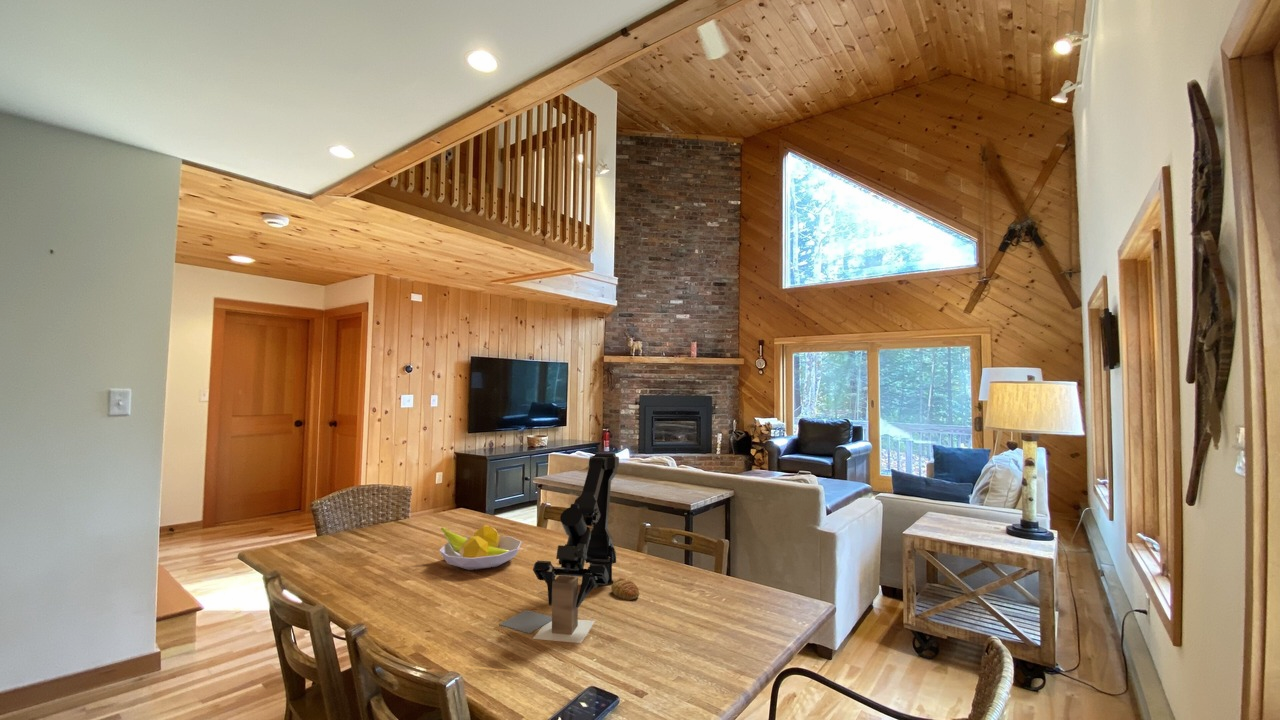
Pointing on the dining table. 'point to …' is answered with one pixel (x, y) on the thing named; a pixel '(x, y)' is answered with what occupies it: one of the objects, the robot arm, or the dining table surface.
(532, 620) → the slate coaster
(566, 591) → the walnut block
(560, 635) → the tile
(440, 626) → the dining table surface
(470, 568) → the fruit bowl
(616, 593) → the pastry
